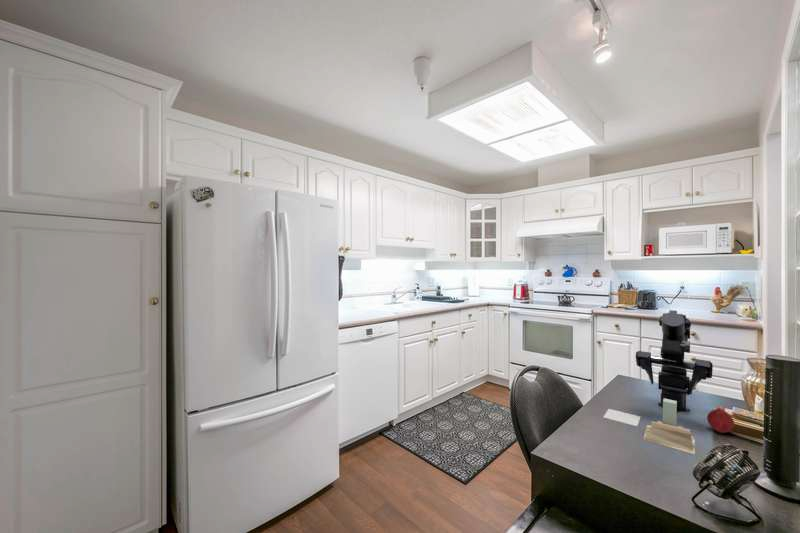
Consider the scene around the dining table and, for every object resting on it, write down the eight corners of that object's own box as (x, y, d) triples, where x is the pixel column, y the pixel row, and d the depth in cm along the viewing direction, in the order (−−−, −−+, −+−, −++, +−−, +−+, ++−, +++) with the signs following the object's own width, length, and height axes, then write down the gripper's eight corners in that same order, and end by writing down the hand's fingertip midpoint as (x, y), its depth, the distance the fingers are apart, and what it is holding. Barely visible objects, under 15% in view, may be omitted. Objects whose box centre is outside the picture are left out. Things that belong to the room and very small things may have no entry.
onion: (739, 439, 96) (739, 411, 96) (716, 437, 98) (716, 409, 98) (724, 429, 102) (724, 403, 102) (702, 427, 103) (702, 401, 103)
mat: (608, 410, 115) (608, 408, 115) (640, 418, 109) (640, 416, 109) (603, 419, 108) (603, 417, 108) (637, 428, 102) (637, 426, 102)
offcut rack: (647, 426, 104) (647, 410, 104) (694, 438, 96) (694, 422, 96) (643, 441, 94) (643, 424, 95) (694, 456, 87) (695, 437, 87)
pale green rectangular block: (663, 432, 99) (663, 398, 99) (676, 435, 97) (676, 401, 97) (662, 435, 97) (662, 401, 97) (676, 439, 95) (676, 404, 95)
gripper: (636, 326, 112) (631, 366, 104) (712, 334, 100) (714, 380, 92) (639, 346, 118) (634, 385, 110) (711, 356, 106) (712, 400, 97)
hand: (671, 387), depth 102 cm, fingers open, 9 cm apart
